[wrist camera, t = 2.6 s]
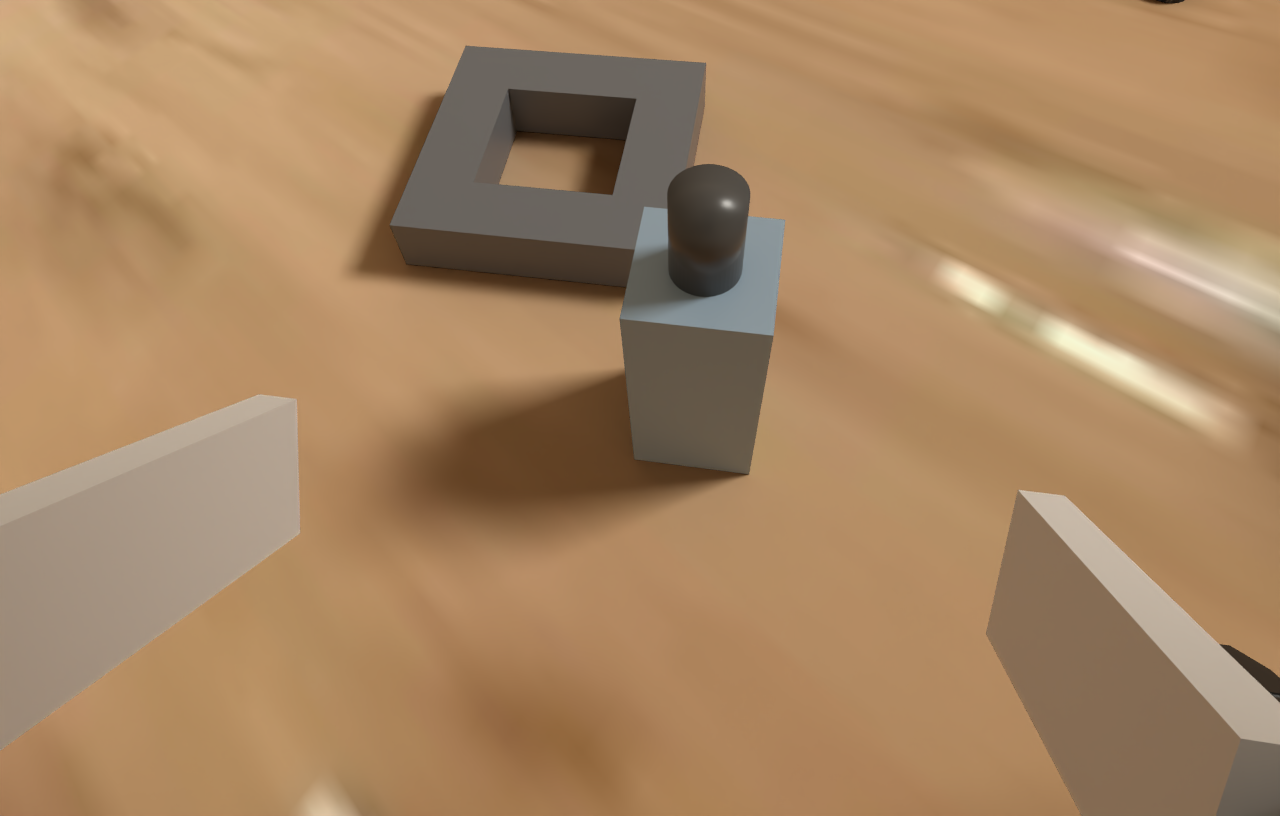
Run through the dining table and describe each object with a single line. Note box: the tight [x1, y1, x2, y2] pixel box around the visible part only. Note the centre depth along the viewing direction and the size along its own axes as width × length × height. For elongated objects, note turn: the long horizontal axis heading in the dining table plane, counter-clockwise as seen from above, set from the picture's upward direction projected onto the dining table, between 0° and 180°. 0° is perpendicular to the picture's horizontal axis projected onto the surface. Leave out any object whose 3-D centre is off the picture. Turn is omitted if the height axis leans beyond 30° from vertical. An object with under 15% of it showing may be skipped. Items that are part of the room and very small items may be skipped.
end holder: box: [390, 46, 706, 287], centre depth 38 cm, size 12×12×2 cm
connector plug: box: [620, 164, 785, 474], centre depth 27 cm, size 4×4×12 cm
